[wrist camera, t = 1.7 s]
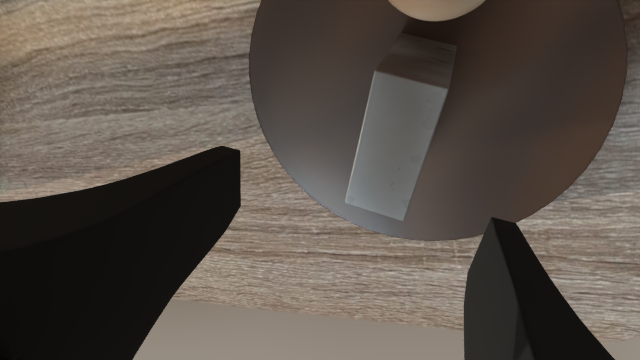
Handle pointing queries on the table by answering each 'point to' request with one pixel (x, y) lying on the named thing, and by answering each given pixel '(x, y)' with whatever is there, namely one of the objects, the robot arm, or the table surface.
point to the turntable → (436, 105)
